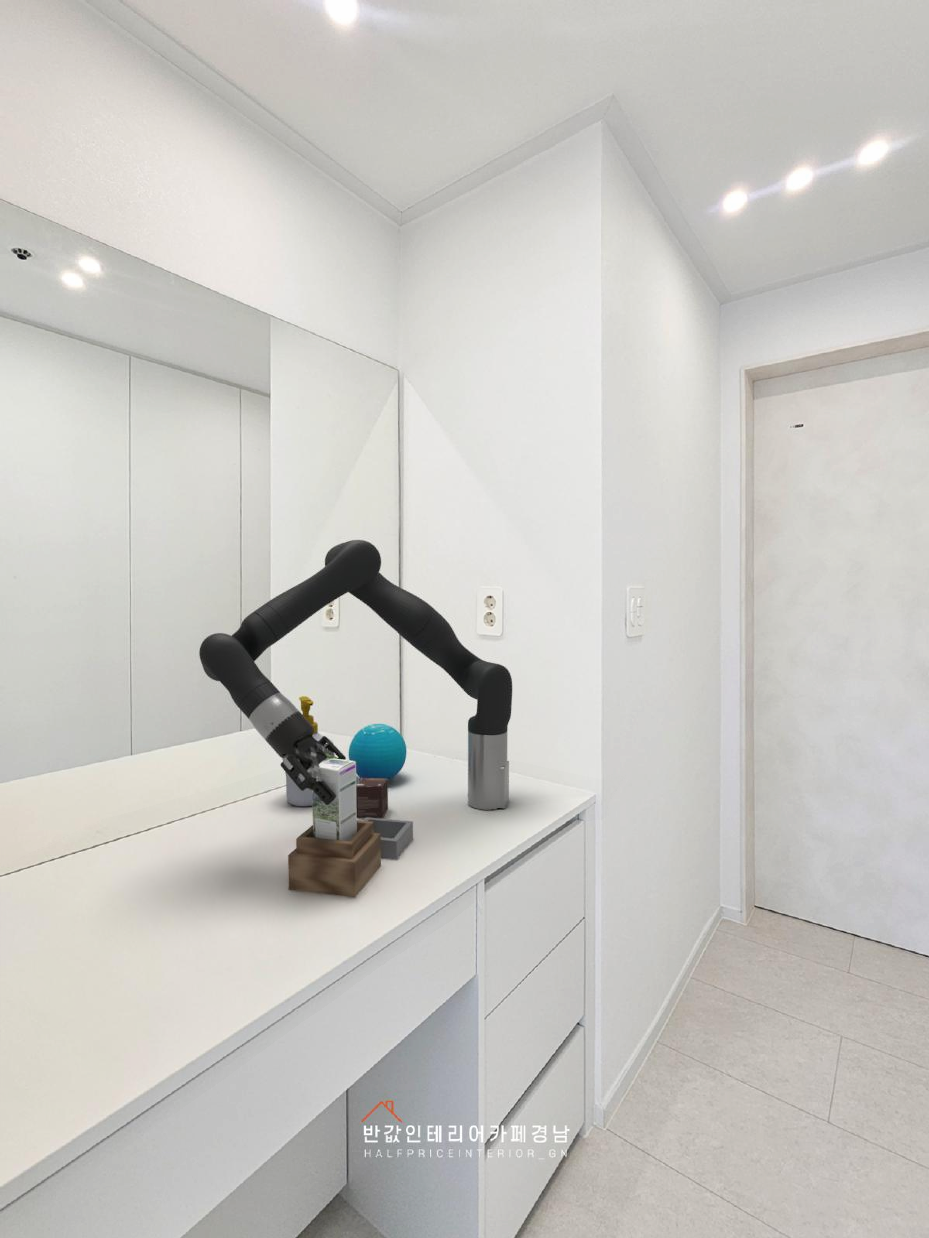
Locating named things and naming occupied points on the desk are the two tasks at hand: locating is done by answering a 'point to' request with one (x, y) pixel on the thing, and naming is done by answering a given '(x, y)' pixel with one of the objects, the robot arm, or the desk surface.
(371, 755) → the decorative orb
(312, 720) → the soap bottle
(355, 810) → the syrup box
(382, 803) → the box
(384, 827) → the charcoal collar
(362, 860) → the walnut raised dock
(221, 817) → the desk surface
